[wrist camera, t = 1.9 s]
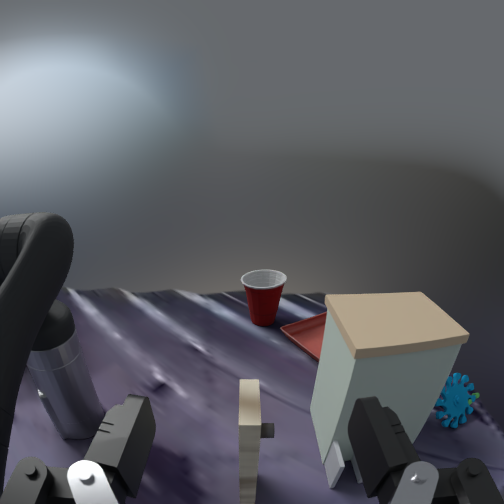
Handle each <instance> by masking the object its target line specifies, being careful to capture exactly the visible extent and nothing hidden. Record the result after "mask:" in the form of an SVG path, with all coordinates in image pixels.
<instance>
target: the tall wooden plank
mask: <svg viewBox="0 0 504 504" xmlns="http://www.w3.org/2000/svg"><path fill="white" fill-rule="evenodd" d="M260 438H274V423H261V412H260V393H259V380H244V379H240V396H239V481H240V504H255V497H256V485H257V473H258V461H259V448H260Z"/></svg>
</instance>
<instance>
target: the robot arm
mask: <svg viewBox="0 0 504 504" xmlns="http://www.w3.org/2000/svg"><path fill="white" fill-rule="evenodd" d="M73 248H74V239H73V233H72V230H71V227H70V225H69V224H68V222H67V221H66V220H65V219H64V218H63V217H61V216H59V215H57V214H53V213H46V212H39V213H27V214H17V215H9V216H5V217H3V218H1V219H0V504H126V503H125V499H126V496H128V497H133V498H136V496H137V492H138V489H139V485H140V482H141V479H142V475H143V472H144V469H145V465H146V462H147V459H148V455H149V452H150V449H151V446H152V443H153V439H154V436H155V431H156V424H155V419H154V416H153V412H152V408H151V405H150V401H149V398H148V397H145V396H138V395H132V394H129V395H128V396H127V398H126V400H125V402H124V404H123V406H122V405H117V404H116V405H115V406H114V407H112V408H111V409H110V410H109V411H108V412H107V413H106V415H105V414H104V412H103V409H102V406H101V403H100V402H99V399H98V396H97V394H96V391H95V388H94V386H93V383H92V380H91V377H90V374H89V371H88V368H87V365H86V362H85V359H84V356H83V353H82V349H81V346H80V342H79V339H78V335H77V331H76V328H75V324H74V320H73V316H72V313H71V311H70V309H69V308H68V307H67V306H66V305H65V304H63V303H62V302H60V301H58V300H56V297H57V295H58V293H59V291H60V290H61V288H62V286H63V283H64V282H65V279H66V277H67V274H68V272H69V269H70V265H71V262H72V257H73ZM26 364H27V367H28V369H29V372H30V374H31V376H32V378H33V381H34V383H35V385H36V387H37V391H38V394H39V397H40V399H41V401H42V403H43V405H44V407H45V409H46V411H47V413H48V415H49V417H50V418H51V420H52V422H53V424H54V426H55V427H56V429H57V431H58V432H59V434H60V436H61V437H62V439H66V438H72V439H85V438H89V437H91V436H93V435H95V434H96V435H95V437H94V439H93V441H92V443H91V445H90V447H89V449H88V451H87V453H86V455H85V457H84V459H83V460H82V461H79V462H76V463H74V464H73V465H72V466H71V467H70V468H58V467H47V466H46V465H45V464H44V462H43V461H42V460H40V459H38V458H36V457H26V458H24V459H22V460H20V461H19V462H18V464H17V466H16V468H15V469H14V471H13V473H12V475H11V477H10V479H9V481H8V483H7V485H6V487H5V489H4V491H3V486H4V476H5V468H6V461H7V454H8V447H9V441H10V435H11V429H12V424H13V418H14V412H15V405H16V400H17V395H18V391H19V387H20V384H21V380H22V377H23V373H24V370H25V367H26ZM348 437H349V440H350V443H351V446H352V449H353V452H354V455H355V459H356V462H357V465H358V468H359V471H360V474H361V477H362V481H363V484H364V487H365V490H366V494H367V497H368V498H371V497H375V496H378V500H379V504H504V501H503V499H502V497H501V495H500V493H499V491H498V489H497V487H496V485H495V483H494V481H493V479H492V477H491V475H490V473H489V471H488V469H487V467H486V466H485V464H484V463H483V462H482V461H481V460H479V459H476V458H467V459H465V460H463V461H462V462H461V463H460V464H459V465H458V467H457V468H444V469H436V468H435V467H434V466H433V465H432V464H430V463H428V462H424V461H421V460H420V459H419V457H418V455H417V453H416V451H415V449H414V447H413V445H412V443H411V441H410V439H409V437H408V435H407V433H405V429H404V427H403V425H401V421H400V420H399V418H398V416H397V414H396V413H395V412H394V411H393V410H391V409H390V408H389V407H388V406H387V407H382V406H381V404H380V402H379V400H378V398H377V397H376V396H372V397H365V398H358V399H356V401H355V404H354V407H353V411H352V414H351V416H350V419H349V422H348ZM6 447H7V448H6Z"/></svg>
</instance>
